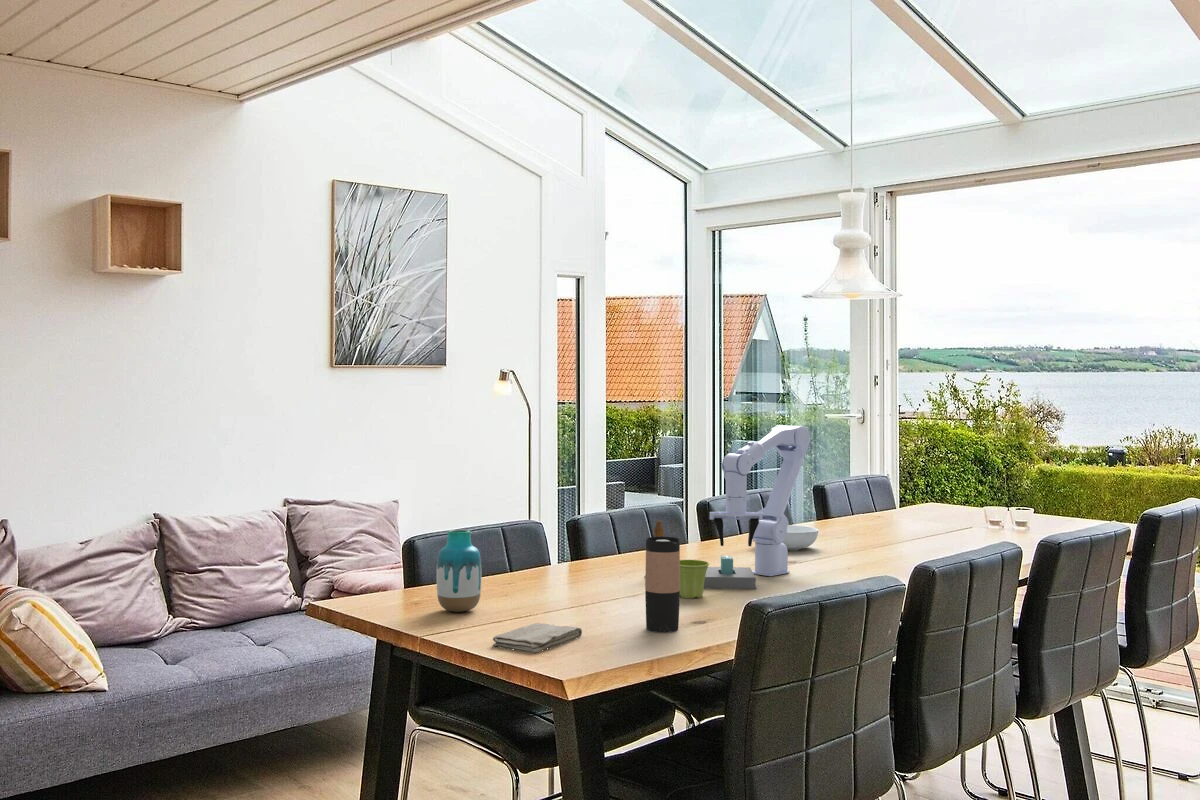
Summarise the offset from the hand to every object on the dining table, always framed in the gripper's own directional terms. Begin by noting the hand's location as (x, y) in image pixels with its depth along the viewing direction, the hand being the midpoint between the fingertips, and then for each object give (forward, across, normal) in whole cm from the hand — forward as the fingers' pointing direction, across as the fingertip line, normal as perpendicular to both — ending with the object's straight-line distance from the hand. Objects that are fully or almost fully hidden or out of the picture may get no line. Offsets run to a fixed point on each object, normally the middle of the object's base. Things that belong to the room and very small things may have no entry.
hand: (735, 545), depth 303 cm
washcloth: (+10, -48, -76) cm, 90 cm away
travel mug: (+10, -21, -62) cm, 66 cm away
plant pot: (+10, -13, -25) cm, 30 cm away
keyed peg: (+9, -3, -5) cm, 11 cm away
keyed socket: (+9, -3, -6) cm, 11 cm away
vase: (+10, -69, -47) cm, 84 cm away
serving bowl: (+10, +21, +58) cm, 63 cm away
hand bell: (+10, -21, +1) cm, 23 cm away
